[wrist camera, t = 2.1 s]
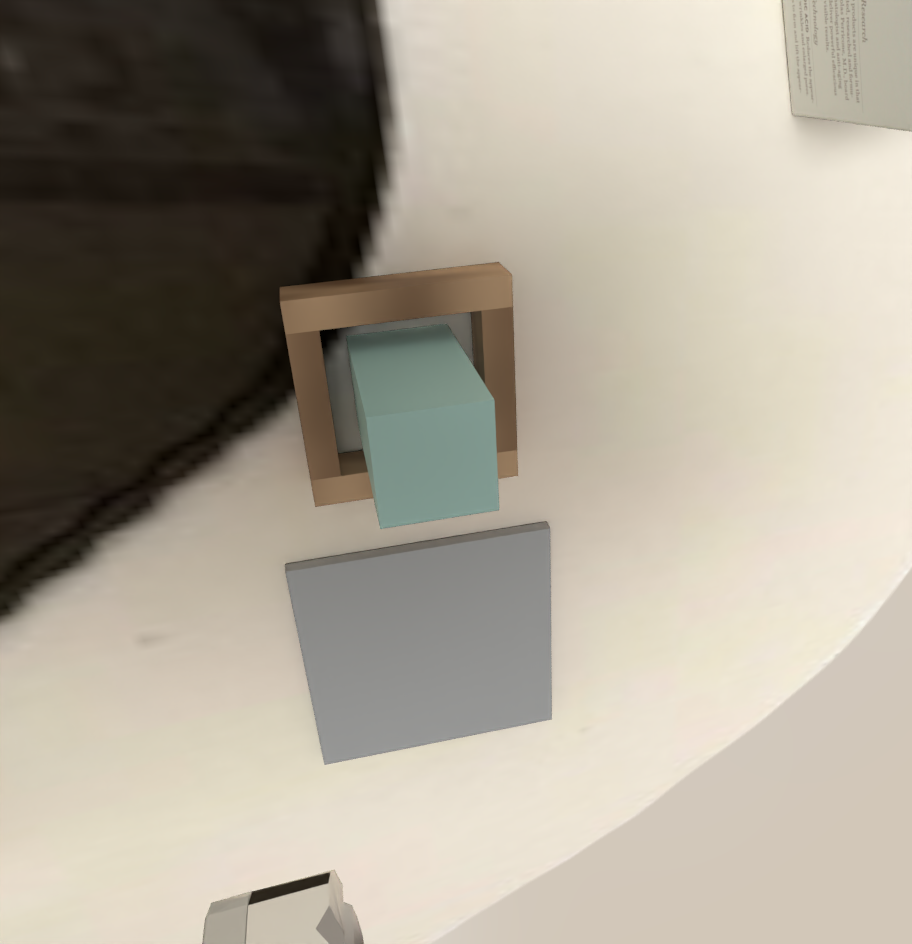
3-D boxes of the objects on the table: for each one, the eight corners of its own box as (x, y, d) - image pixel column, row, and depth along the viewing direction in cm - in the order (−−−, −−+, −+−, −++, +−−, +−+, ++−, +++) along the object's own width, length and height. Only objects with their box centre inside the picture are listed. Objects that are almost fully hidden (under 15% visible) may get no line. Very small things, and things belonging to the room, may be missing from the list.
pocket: (313, 483, 34) (315, 506, 32) (279, 287, 30) (279, 301, 28) (505, 454, 35) (518, 475, 33) (498, 262, 31) (512, 274, 29)
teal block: (358, 428, 33) (380, 528, 26) (346, 336, 31) (365, 417, 24) (453, 415, 33) (499, 510, 26) (446, 323, 31) (494, 399, 25)
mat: (324, 755, 41) (324, 764, 40) (285, 564, 35) (285, 571, 35) (548, 711, 42) (551, 719, 42) (546, 521, 37) (550, 528, 36)
